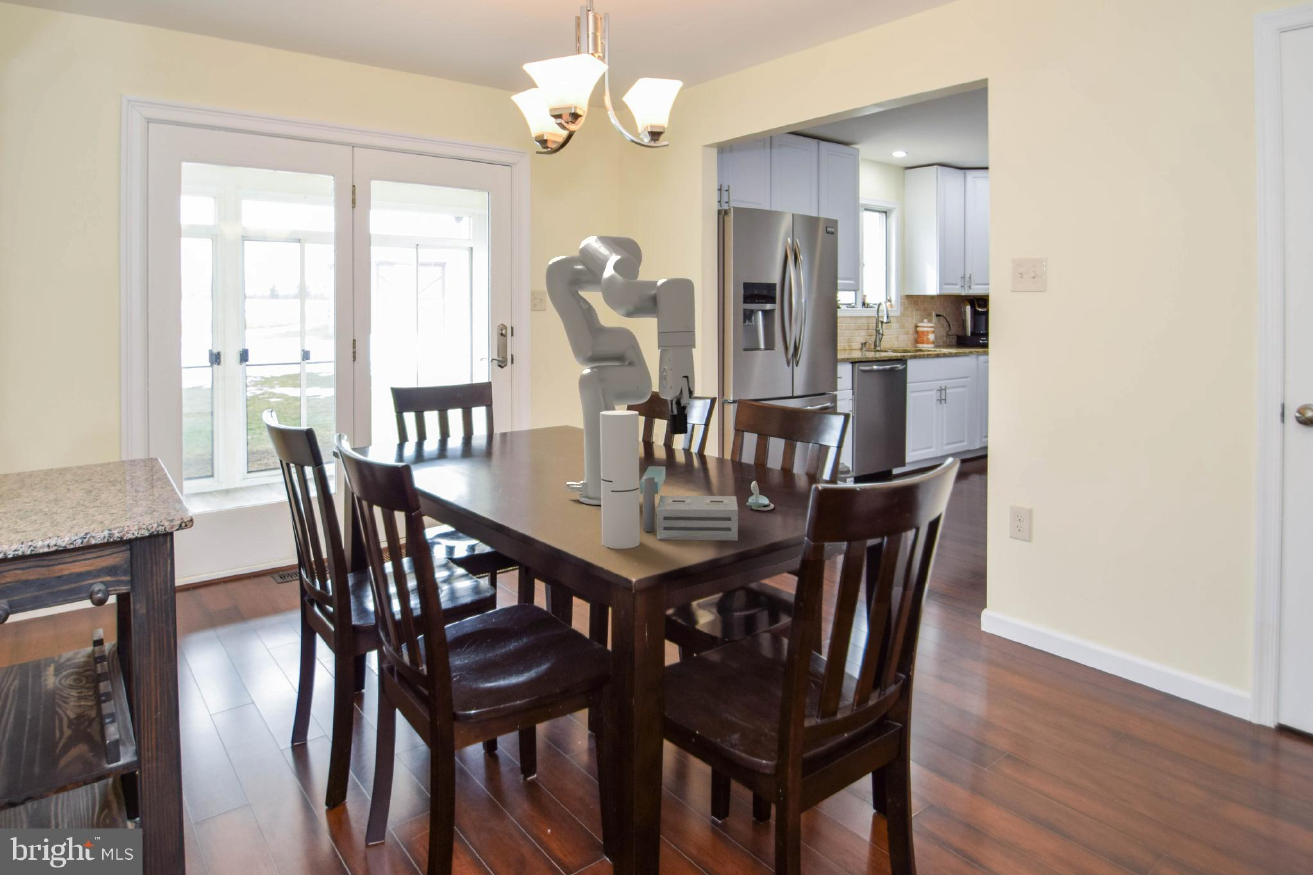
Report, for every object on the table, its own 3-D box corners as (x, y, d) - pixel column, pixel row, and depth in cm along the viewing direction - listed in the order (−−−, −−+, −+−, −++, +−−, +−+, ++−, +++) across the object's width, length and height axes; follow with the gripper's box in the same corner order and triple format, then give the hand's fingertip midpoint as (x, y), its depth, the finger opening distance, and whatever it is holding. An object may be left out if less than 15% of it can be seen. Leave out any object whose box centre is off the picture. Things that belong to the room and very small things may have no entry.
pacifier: (775, 506, 183) (749, 503, 184) (776, 479, 182) (750, 477, 183) (772, 513, 176) (744, 511, 177) (773, 485, 175) (746, 483, 176)
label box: (657, 539, 154) (656, 507, 153) (660, 523, 166) (660, 493, 165) (737, 540, 153) (738, 508, 152) (735, 524, 165) (735, 494, 164)
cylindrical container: (617, 536, 157) (615, 409, 153) (647, 542, 153) (646, 411, 149) (594, 544, 151) (592, 413, 147) (624, 550, 147) (623, 415, 143)
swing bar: (657, 531, 159) (657, 478, 158) (639, 531, 159) (638, 478, 158) (665, 509, 178) (665, 462, 176) (649, 509, 178) (649, 461, 176)
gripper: (648, 342, 165) (650, 431, 167) (669, 341, 150) (672, 438, 152) (682, 342, 167) (684, 429, 169) (707, 340, 153) (709, 436, 155)
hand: (678, 433), depth 161 cm, fingers closed
